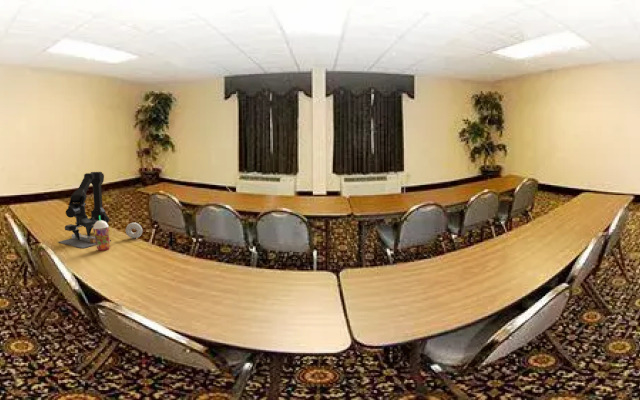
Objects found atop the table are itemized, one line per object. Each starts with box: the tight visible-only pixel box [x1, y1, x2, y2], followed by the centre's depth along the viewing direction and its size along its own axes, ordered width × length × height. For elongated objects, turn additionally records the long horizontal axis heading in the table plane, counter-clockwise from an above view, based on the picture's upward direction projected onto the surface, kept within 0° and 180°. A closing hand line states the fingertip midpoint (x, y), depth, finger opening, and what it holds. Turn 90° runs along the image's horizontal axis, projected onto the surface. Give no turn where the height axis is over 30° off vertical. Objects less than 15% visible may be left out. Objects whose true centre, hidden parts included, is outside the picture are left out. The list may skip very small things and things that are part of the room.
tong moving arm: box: [76, 235, 96, 243], centre depth 294 cm, size 18×2×2 cm, turn 56°
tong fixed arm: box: [71, 232, 96, 242], centre depth 296 cm, size 23×4×4 cm, turn 56°
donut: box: [125, 222, 143, 239], centre depth 298 cm, size 10×4×10 cm, turn 94°
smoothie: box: [92, 216, 111, 252], centre depth 275 cm, size 8×8×20 cm
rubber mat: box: [58, 234, 112, 250], centre depth 295 cm, size 18×27×1 cm, turn 55°
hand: (83, 238), depth 297 cm, fingers open, 6 cm apart
